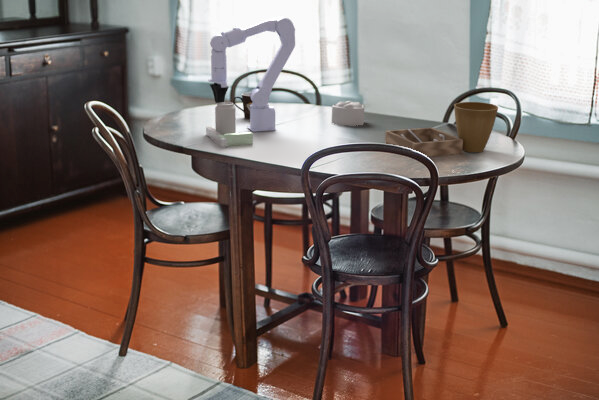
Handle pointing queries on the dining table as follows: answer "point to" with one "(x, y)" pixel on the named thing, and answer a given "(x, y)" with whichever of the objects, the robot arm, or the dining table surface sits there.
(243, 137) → the pale green flat block
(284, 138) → the dining table surface
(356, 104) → the lumpy-topped squat cylinder
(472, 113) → the plant pot
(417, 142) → the rack corral
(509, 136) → the dining table surface
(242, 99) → the coffee mug
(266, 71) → the robot arm
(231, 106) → the can
